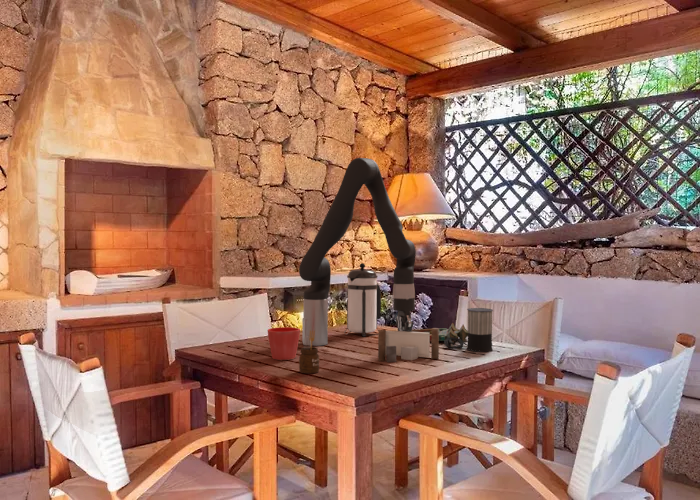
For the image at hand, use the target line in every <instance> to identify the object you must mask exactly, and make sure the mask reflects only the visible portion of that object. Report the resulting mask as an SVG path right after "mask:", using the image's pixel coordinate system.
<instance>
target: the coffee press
mask: <svg viewBox="0 0 700 500" xmlns="http://www.w3.org/2000/svg"><path fill="white" fill-rule="evenodd" d="M365 267H366V264H365V263H364V262H363V263H361V262H360V263H359V268H357V269H356V268H355V269H351V270H350V271H348V275H346V277H347V278H346V279H347V286H346V288H347V292H346V293H347V295H346V296H347V301H346V302H347V303H346V304H347V305H346V306H347V310H346V314H347V317H346V321H347V322H346V324H347V325H346V329H345V330H344V332H343V333H344V335H346V336H347V335H348V334H350V333H359V334H361V336H362V338H366V336H367V335H366V334H367V333H375V334H376V335H378V333H377V332H376V330H377V331H378V330H379V329H378V319H380V316H381V309H382V303H381V302H382V291H381V287H380V285H379V284H378V283H377V281H378V280H377V279H378V275H377V272H376V271H374V270H373V269H365ZM347 330H348V332H347ZM346 332H347V333H346Z"/></svg>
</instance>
